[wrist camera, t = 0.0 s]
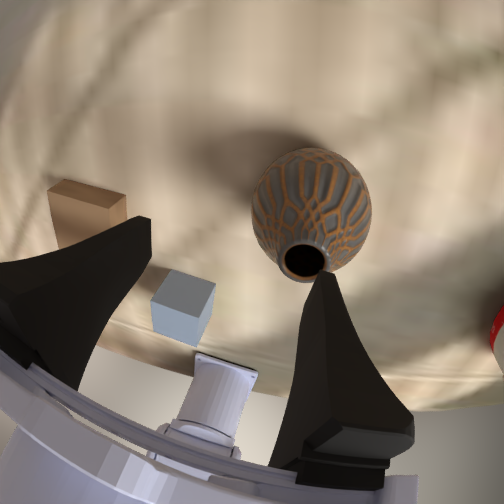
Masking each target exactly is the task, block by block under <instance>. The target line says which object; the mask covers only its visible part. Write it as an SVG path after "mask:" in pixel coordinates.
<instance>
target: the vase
mask: <svg viewBox="0 0 504 504" xmlns="http://www.w3.org/2000/svg"><path fill="white" fill-rule="evenodd" d="M251 214H252V225H253V229H254V233H255V236H256V238H257V241H258V243H259V245H260V246H261V248H262V249H263V251H264V252H265V253H266V255H267V256H268V257H269V258H270V259H271V260H272V261H273V262H275V263H276V264H277V265H278V266H279V268H280V270H281V271H282V272H283V274H284V275H286V276H287V277H288V278H290V279H292V280H294V281H297V282H301V283H312V282H315V279H316V277H317V275H318V272H319V270H324V271H327V272H333V271H335V270H338V269H339V268H341V267H343V266H344V265H346V264H347V263H348V262H350V261H351V260H352V259H353V258H354V257H355V256H356V254H357V253H358V252H359V251H360V249H361V247H362V246H363V244H364V242H365V240H366V238H367V235H368V232H369V228H370V224H371V217H372V206H371V199H370V195H369V191H368V189H367V186H366V184H365V182H364V180H363V178H362V176H361V175H360V173H359V172H358V170H357V169H356V168H355V167H354V166H353V165H352V164H351V163H350V162H349V161H348V160H346V159H345V158H343V157H342V156H340V155H339V154H336V153H334V152H332V151H329V150H326V149H321V148H303V149H298V150H294V151H292V152H289V153H287V154H285V155H283V156H281V157H280V158H278V159H277V160H276V161H274V162H273V163H272V164H271V165H270V166H269V167H268V169H267V170H266V171H265V172H264V174H263V175H262V177H261V178H260V180H259V182H258V184H257V186H256V189H255V191H254V195H253V200H252V209H251Z"/></svg>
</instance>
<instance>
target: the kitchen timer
mask: <svg viewBox="0 0 504 504" xmlns="http://www.w3.org/2000/svg"><path fill="white" fill-rule="evenodd" d="M490 344H491V347H492V350H493V354H494V356H495V358H496V360H497V362H498V365H499V367H500V369H501V370H502V372H503V374H504V305H503V307H502V308H501V310H500V312H499V313H498V315H497V316H496V318H495V320H494V323H493V326H492V328H491V331H490ZM503 381H504V375H503Z"/></svg>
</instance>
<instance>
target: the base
mask: <svg viewBox="0 0 504 504" xmlns="http://www.w3.org/2000/svg"><path fill="white" fill-rule="evenodd" d="M47 194H48V200H49V206H50V211H51V216H52V221H53V225H54V230H55V234H56V239H57V243H58V247H59V250H60V249H62V248H65V247H68V246H71V245H73V244H76V243H78V242H81V241H83V240H85V239H87V238H90V237H92V236H94V235H97V234H99V233H101V232H103V231H105V230H107V229H109V228H112V227H114V226H116V225H118V224H120V223H122V222H124V221H127V209H126V195H124V194H120V193H116V192H112V191H109V190H105V189H101V188H97V187H93V186H89V185H86V184H82V183H78V182H74V181H70V180H66V179H64V180H62V181H61V182H59V183H58V184H56V185H55V186H53V187H52V188H50V189H49V190H47Z"/></svg>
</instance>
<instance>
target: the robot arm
mask: <svg viewBox="0 0 504 504" xmlns="http://www.w3.org/2000/svg"><path fill="white" fill-rule="evenodd" d="M151 257H152V247H151V219H149V218H146V217H142V216H136V217H134V218H131V219H129V220H127V221H124V222H122V223H120V224H118V225H116V226H114V227H112V228H109V229H107V230H105V231H103V232H101V233H99V234H97V235H94V236H92V237H90V238H87V239H85V240H83V241H81V242H78V243H76V244H73V245H71V246H68V247H65V248H62V249H60V250H57V251H54V252H50V253H46V254H43V255H39V256H36V257H32V258H27V259H22V260H17V261H11V262H2V263H0V409H1V410H2V411H3V412H5V413H6V414H7V415H8V416H9V417H10V418H11V419H12V420H13V421H15V422H16V423H17V424H18V426H17V427H16V429H15V431H14V433H13V434H12V436H11V438H10V440H9V442H8V443H7V445H6V447H5V449H4V451H3V453H2V455H1V457H0V504H417V497H418V481H419V476H418V475H391V476H385V469H388V468H389V467H390V459H391V458H393V457H395V456H397V455H399V454H401V453H403V452H405V451H406V450H408V449H409V448H410V447H411V446H412V445H413V444H414V435H415V430H414V429H415V426H414V417H413V415H412V414H411V413H410V412H409V410H408V409H407V408H406V407H405V406H404V405H403V404H402V403H401V401H400V400H399V399H398V398H397V397H396V396H395V394H394V393H393V392H392V390H391V389H390V388H389V386H388V385H387V384H386V382H385V381H384V380H383V378H382V377H381V375H380V374H379V372H378V371H377V369H376V367H375V366H374V364H373V363H372V361H371V360H370V358H369V356H368V354H367V352H366V351H365V349H364V347H363V345H362V343H361V341H360V339H359V337H358V335H357V333H356V330H355V328H354V326H353V323H352V321H351V319H350V316H349V313H348V311H347V308H346V306H345V303H344V300H343V297H342V294H341V291H340V288H339V285H338V282H337V279H336V276H335V274H334V273H330V272H327V271H324V270H319V272H318V275H317V277H316V279H315V282H314V284H313V286H312V288H311V291H310V293H309V295H308V297H307V300H306V302H305V304H304V308H303V313H302V317H301V322H300V327H299V336H298V345H297V354H296V362H295V371H294V377H293V383H292V387H291V391H290V395H289V399H288V403H287V407H286V410H285V414H284V417H283V421H282V424H281V428H280V431H279V434H278V438H277V441H276V444H275V447H274V450H273V453H272V456H271V458H270V461H269V464H268V466H263V465H258V464H254V463H250V462H246V461H243V460H240V459H241V451H240V450H239V447H237V446H234V447H233V445H234V442H235V439H234V436H235V433H236V430H237V427H238V424H239V420H240V417H241V414H242V410H243V407H244V404H245V402H246V401H247V399H248V396H249V394H250V392H251V390H252V388H253V385H254V383H255V381H256V379H257V376H258V372H257V371H254V370H251V369H247V368H244V367H241V366H237V365H234V364H231V363H228V362H225V361H222V360H219V359H216V358H213V357H210V356H207V355H204V354H201V353H196V355H195V369H194V378H193V381H192V383H191V385H190V388H189V390H188V393H187V395H186V397H185V400H184V402H183V404H182V407H181V409H180V411H179V414H178V416H177V418H176V419H173V420H172V422H171V424H169V423H165V424H163V425H161V426H159V427H158V429H157V430H156V431H154V430H152V429H150V428H147V427H145V426H143V425H141V424H138V423H136V422H134V421H132V420H130V419H128V418H126V417H124V416H122V415H120V414H118V413H116V412H113V411H112V410H110V409H108V408H106V407H104V406H102V405H100V404H98V403H96V402H95V401H93V400H91V399H89V398H88V397H86V396H84V395H82V394H81V393H79V392H77V391H78V388H79V385H80V382H81V379H82V376H83V373H84V371H85V368H86V366H87V363H88V361H89V359H90V356H91V354H92V351H93V349H94V347H95V345H96V343H97V341H98V339H99V337H100V335H101V333H102V331H103V329H104V328H105V326H106V324H107V322H108V320H109V318H110V317H111V315H112V314H113V312H114V311H115V309H116V308H117V307H118V305H119V304H120V303H121V301H122V300H123V299H124V297H125V296H126V295H127V293H128V292H129V291H130V289H131V288H132V287H133V285H134V284H135V283H136V281H137V280H138V279H139V277H140V276H141V275H142V273H143V271H144V269H145V268H146V266H147V264H148V262H149V261H150V259H151ZM57 401H58V402H59V403H58V402H57ZM60 403H61V404H62V405H64V406H66V407H67V408H69V409H70V410H72V411H74V412H75V413H77V414H79V415H80V416H82V417H84V418H85V419H87V420H89V421H91V422H92V423H94V424H96V425H98V426H99V427H101V428H103V429H105V430H107V431H109V432H111V433H113V434H115V435H117V436H119V437H121V438H123V439H125V440H127V441H129V442H131V443H133V444H135V445H137V446H140V447H142V448H144V449H146V450H148V451H147V455H146V456H145V455H143V454H140V453H139V452H137V451H134V450H132V449H130V448H128V447H126V446H124V445H122V444H120V443H118V442H117V441H115V440H112V439H111V438H109V437H107V436H105V435H103V434H101V433H99V432H98V431H96V430H94V429H92V428H90V427H89V426H87V425H85V424H83V423H82V422H80V421H78V420H76V419H74V417H73V416H72V415H71V414H70V413H69V411H68V410H67V409H66V408H65V407H64V406H62V405H61V404H60ZM232 448H233V449H232Z"/></svg>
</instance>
